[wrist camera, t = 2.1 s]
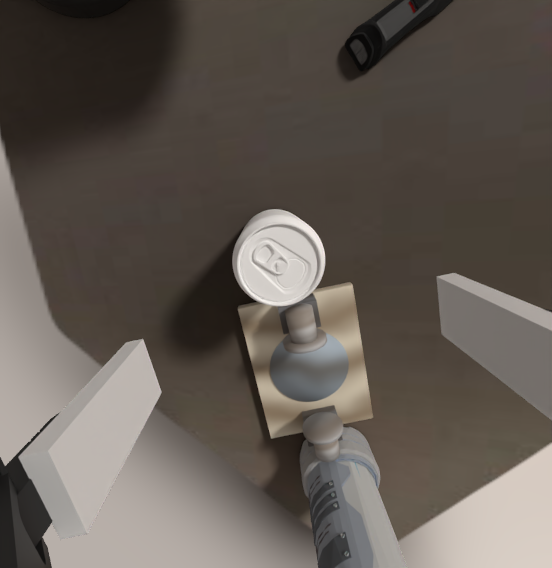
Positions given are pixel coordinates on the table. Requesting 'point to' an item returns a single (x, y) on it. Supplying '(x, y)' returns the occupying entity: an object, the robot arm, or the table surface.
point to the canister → (349, 507)
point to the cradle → (309, 366)
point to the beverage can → (278, 258)
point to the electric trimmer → (389, 29)
